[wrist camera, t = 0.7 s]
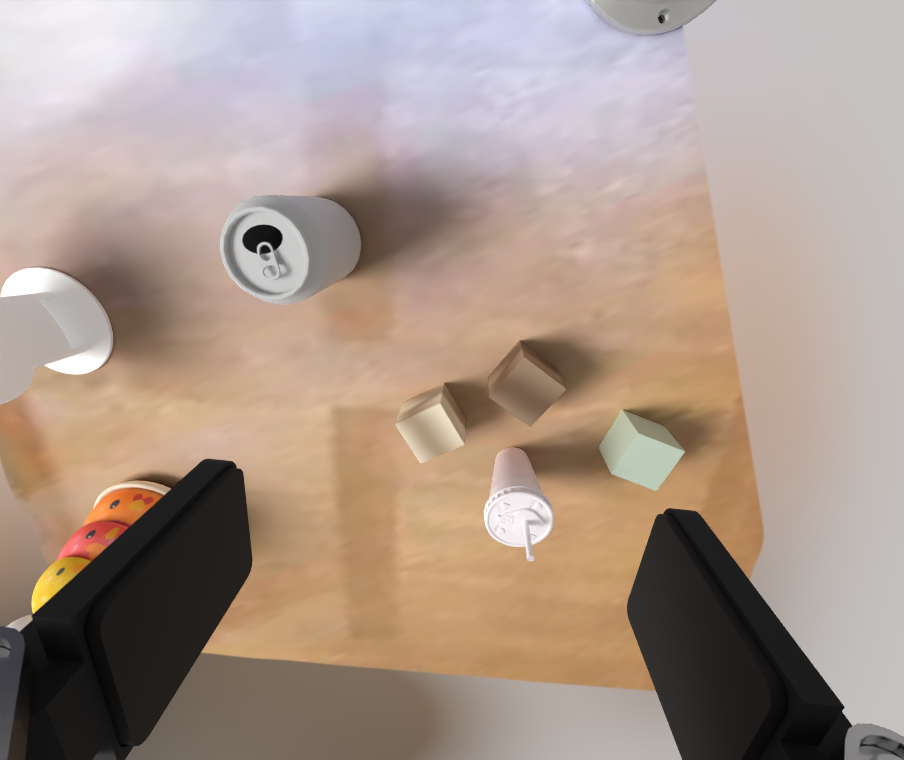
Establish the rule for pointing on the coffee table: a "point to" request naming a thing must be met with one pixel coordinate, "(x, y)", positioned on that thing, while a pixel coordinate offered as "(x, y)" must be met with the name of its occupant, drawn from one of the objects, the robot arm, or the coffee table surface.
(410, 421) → the maple cube
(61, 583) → the stacking toy
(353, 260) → the can
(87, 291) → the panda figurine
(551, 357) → the coffee table surface
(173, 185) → the coffee table surface
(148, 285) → the coffee table surface
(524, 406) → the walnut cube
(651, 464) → the sage painted cube
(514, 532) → the smoothie
